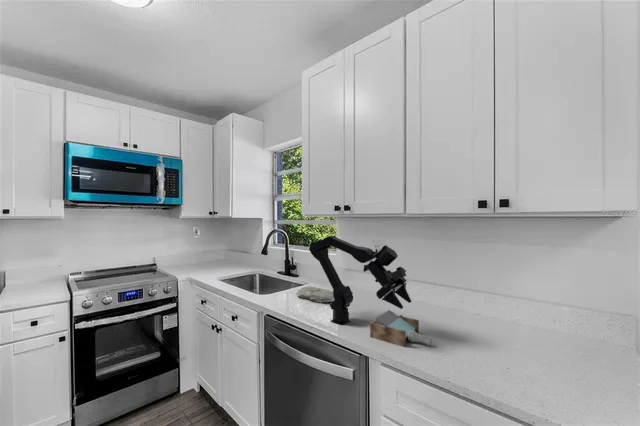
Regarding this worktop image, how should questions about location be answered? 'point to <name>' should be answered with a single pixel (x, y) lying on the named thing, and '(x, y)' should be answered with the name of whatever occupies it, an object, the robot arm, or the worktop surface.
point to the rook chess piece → (418, 338)
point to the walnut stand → (392, 332)
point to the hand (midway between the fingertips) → (406, 305)
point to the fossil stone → (316, 294)
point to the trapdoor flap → (394, 322)
